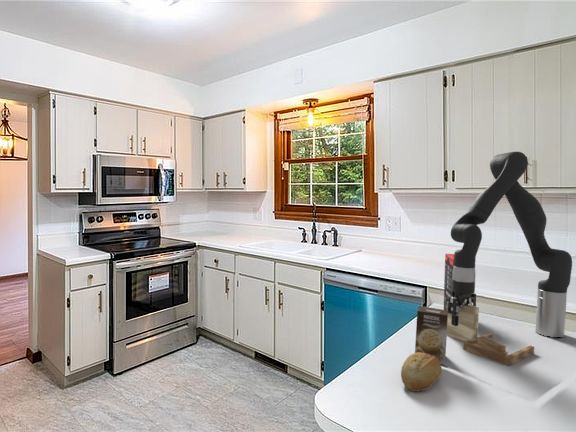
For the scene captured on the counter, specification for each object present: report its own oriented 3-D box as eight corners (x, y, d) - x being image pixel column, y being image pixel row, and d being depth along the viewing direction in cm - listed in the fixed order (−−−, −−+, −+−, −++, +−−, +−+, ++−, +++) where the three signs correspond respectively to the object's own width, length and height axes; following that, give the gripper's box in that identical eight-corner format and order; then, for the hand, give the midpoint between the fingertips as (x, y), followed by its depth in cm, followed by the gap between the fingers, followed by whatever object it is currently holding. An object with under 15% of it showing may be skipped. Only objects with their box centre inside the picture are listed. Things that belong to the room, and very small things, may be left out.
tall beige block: (450, 334, 140) (452, 300, 140) (477, 343, 132) (478, 307, 132) (445, 336, 138) (447, 301, 138) (471, 345, 130) (473, 308, 130)
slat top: (485, 342, 126) (485, 336, 126) (505, 351, 118) (505, 345, 118) (477, 343, 125) (477, 337, 125) (496, 352, 117) (497, 346, 117)
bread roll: (446, 378, 106) (448, 350, 106) (431, 400, 95) (432, 369, 94) (413, 368, 112) (414, 342, 112) (394, 387, 100) (395, 358, 100)
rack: (489, 342, 135) (490, 333, 134) (533, 357, 123) (534, 346, 123) (462, 352, 125) (463, 342, 125) (508, 369, 113) (508, 358, 113)
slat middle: (479, 347, 126) (479, 342, 126) (507, 358, 118) (507, 351, 118) (472, 350, 124) (473, 344, 124) (500, 360, 116) (501, 354, 116)
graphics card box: (468, 326, 152) (471, 259, 151) (450, 324, 153) (453, 258, 152) (457, 314, 169) (460, 254, 167) (441, 312, 170) (444, 253, 169)
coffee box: (413, 360, 117) (415, 310, 117) (415, 353, 123) (417, 305, 123) (445, 367, 114) (447, 315, 113) (446, 359, 119) (448, 309, 119)
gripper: (464, 275, 141) (462, 317, 142) (442, 279, 133) (440, 323, 134) (484, 279, 135) (482, 323, 136) (462, 283, 127) (460, 330, 128)
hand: (461, 323), depth 135 cm, fingers open, 8 cm apart
